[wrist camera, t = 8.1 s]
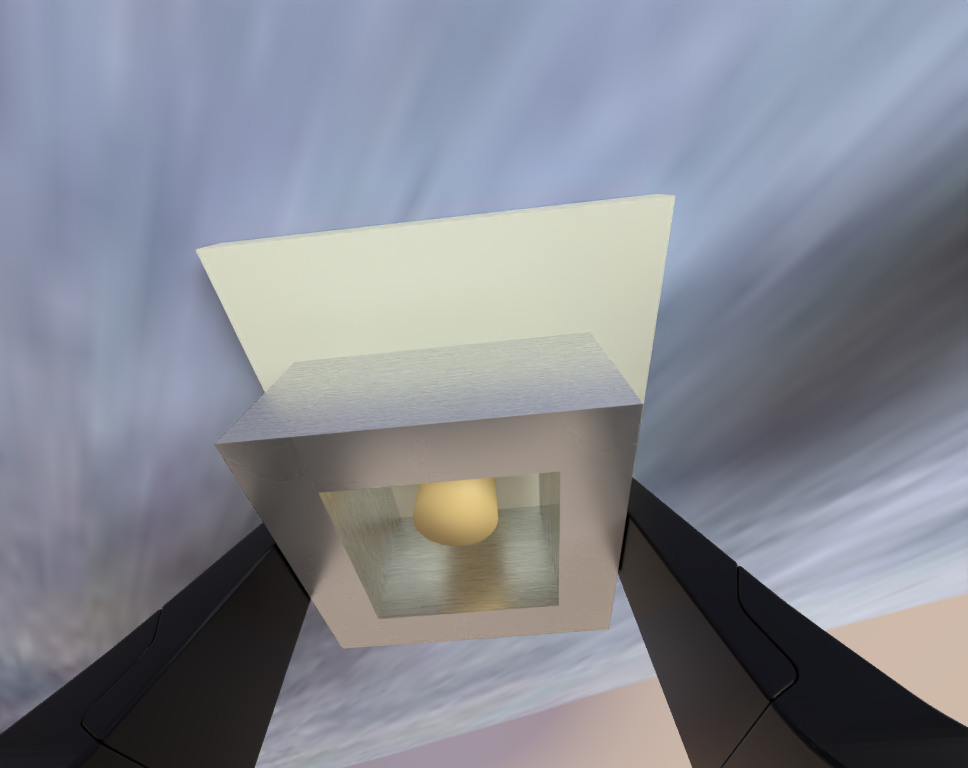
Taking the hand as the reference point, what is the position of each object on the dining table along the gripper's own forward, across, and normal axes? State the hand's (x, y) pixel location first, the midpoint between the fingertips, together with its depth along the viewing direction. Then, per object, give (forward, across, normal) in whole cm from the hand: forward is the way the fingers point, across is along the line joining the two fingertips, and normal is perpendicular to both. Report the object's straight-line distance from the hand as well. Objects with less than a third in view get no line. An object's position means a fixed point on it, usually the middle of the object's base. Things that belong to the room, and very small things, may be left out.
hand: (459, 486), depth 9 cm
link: (+1, 0, 0) cm, 1 cm away
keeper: (+4, 0, 0) cm, 4 cm away
